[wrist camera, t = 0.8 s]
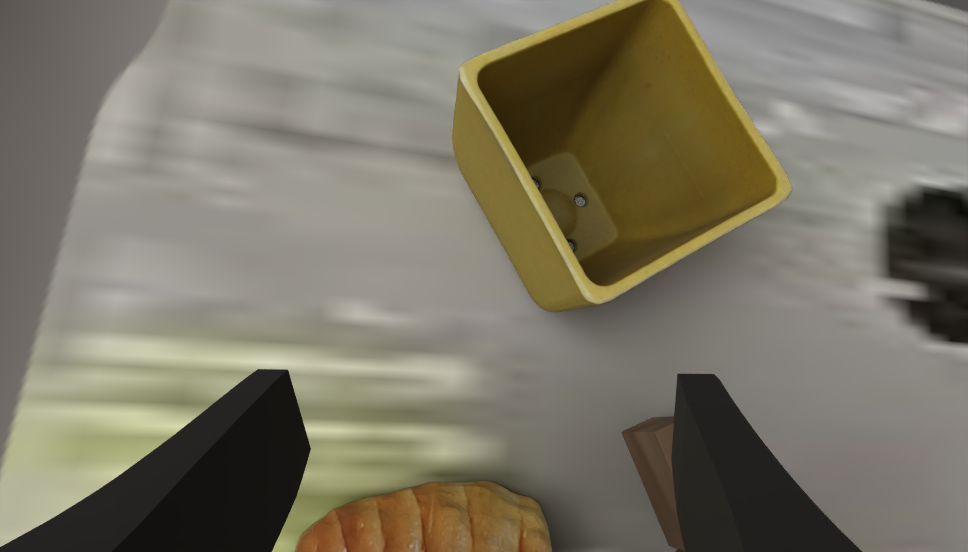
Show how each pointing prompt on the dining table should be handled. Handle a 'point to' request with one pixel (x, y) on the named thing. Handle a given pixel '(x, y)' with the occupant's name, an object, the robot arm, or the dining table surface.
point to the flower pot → (608, 150)
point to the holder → (657, 471)
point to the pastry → (433, 522)
